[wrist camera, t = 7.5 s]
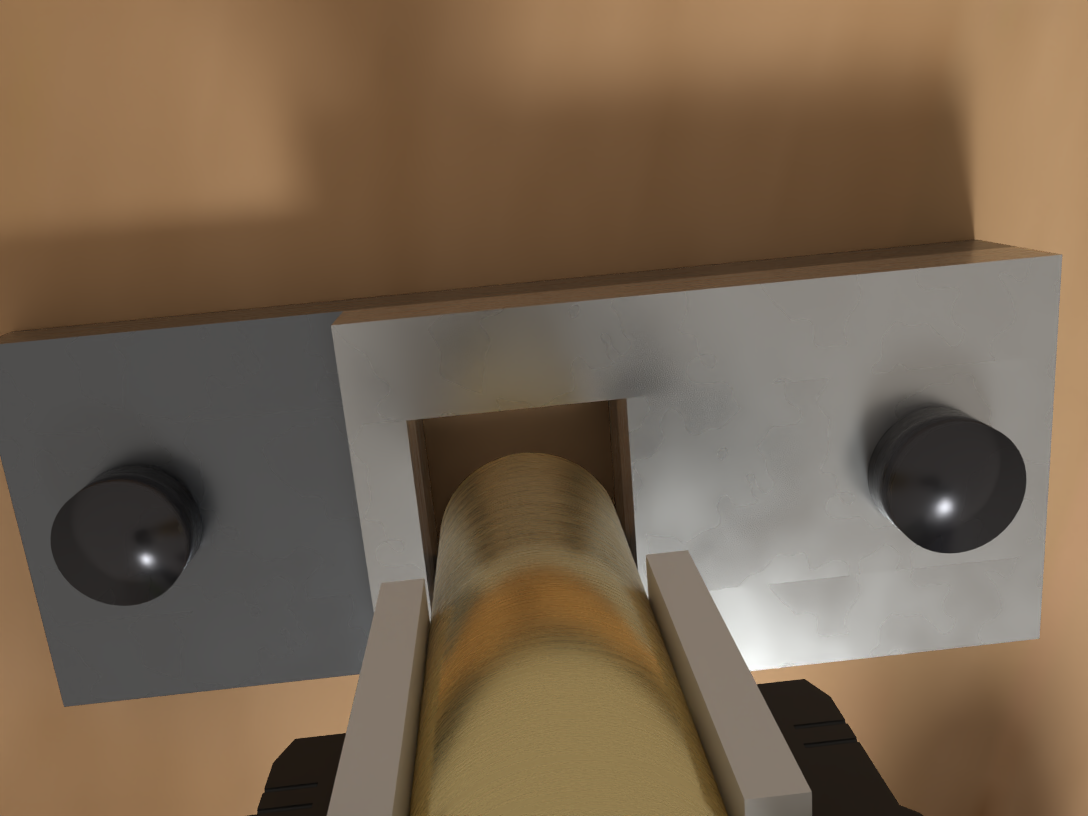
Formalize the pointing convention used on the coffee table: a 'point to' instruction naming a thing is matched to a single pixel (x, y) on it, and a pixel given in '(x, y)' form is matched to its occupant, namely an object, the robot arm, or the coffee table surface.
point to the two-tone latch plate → (528, 382)
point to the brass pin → (549, 661)
